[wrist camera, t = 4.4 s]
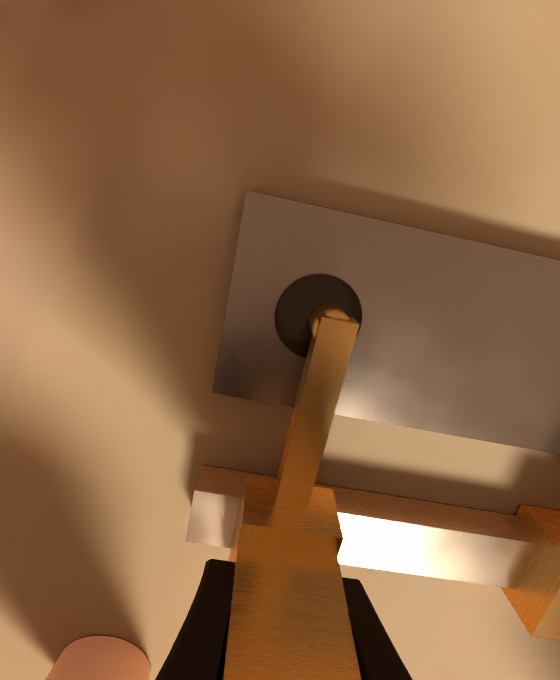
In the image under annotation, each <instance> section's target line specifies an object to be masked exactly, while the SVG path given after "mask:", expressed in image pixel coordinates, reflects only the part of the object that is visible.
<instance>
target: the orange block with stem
mask: <svg viewBox="0 0 560 680" xmlns="http://www.w3.org/2000/svg"><path fill="white" fill-rule="evenodd" d="M309 325H310V328H311V331H312V337H311V342H310V346H309V350H308V354H307V358H306V362H305V366H304V370H303V374H302V378H301V382H300V386H299V390H298V394H297V399H296V403H295V407H294V411H293V415H292V419H291V423H290V427H289V431H288V435H287V439H286V443H285V447H284V451H283V456H282V460H281V464H280V468H279V472H278V476H277V480H272V479H266V478H259V477H253V476H247V477H246V482H245V487H244V491H243V496H242V501H241V505H240V510H239V515H238V519H237V524H236V528H235V533H234V538H233V542H232V547H231V552H230V556H229V561H230V562H235V568H234V581H233V594H232V600H231V606H230V611H229V616H228V621H227V626H226V631H225V636H224V641H223V647H222V652H221V657H220V662H219V667H218V672H217V677H216V680H361V675H360V669H359V664H358V659H357V654H356V649H355V644H354V638H353V633H352V628H351V623H350V619H349V615H348V607H347V602H346V597H345V592H344V587H343V582H342V576H341V571H340V566H339V561H338V554H339V551H340V548H341V545H342V542H343V539H344V538H343V534H342V529H341V525H340V520H339V516H338V511H337V507H336V502H335V498H334V493H333V489H328V488H322V487H315V486H314V483H315V480H316V476H317V473H318V469H319V466H320V462H321V459H322V455H323V452H324V448H325V444H326V441H327V437H328V434H329V430H330V427H331V423H332V420H333V416H334V413H335V409H336V406H337V402H338V399H339V395H340V392H341V388H342V385H343V381H344V378H345V374H346V371H347V367H348V364H349V360H350V357H351V353H352V349H353V346H354V342H355V339H356V335H357V332H358V328H359V323H358V322H357V321H356V320H355V319H354V317H350V316H347V315H346V313H345V312H344V311H343V310H342V308H341V307H339V306H338V305H336V304H333V303H324V304H321V305H319V306H317V307H316V308H315V309H314V310H313V311H312V313H311V315H310V318H309Z"/></svg>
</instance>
